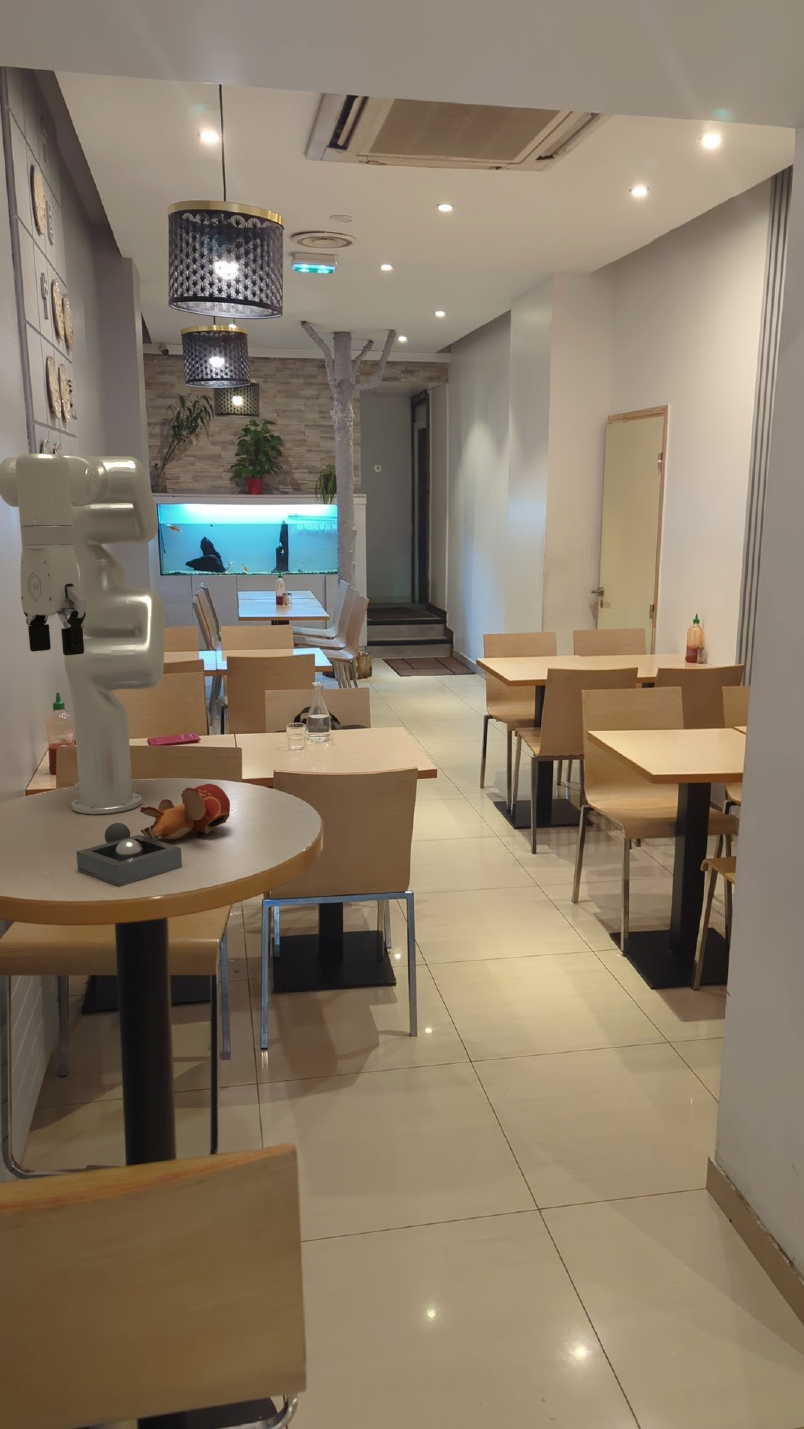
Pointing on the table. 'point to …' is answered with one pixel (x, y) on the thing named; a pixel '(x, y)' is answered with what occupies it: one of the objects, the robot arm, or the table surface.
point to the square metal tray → (129, 861)
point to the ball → (116, 832)
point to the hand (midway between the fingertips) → (56, 652)
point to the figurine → (189, 813)
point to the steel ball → (128, 850)
